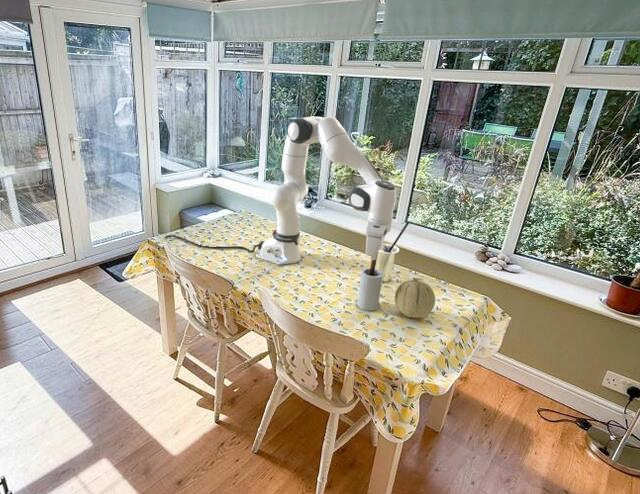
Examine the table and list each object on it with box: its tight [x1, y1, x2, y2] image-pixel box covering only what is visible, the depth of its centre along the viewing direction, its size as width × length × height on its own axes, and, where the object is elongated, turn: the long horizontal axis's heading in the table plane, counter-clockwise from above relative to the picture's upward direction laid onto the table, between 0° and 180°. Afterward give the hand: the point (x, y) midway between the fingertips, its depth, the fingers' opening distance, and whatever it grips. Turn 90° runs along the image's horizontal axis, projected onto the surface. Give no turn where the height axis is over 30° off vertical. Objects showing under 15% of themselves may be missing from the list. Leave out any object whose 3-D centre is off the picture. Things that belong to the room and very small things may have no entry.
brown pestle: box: [369, 256, 377, 276], centre depth 161 cm, size 4×4×20 cm
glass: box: [375, 221, 410, 283], centre depth 182 cm, size 11×11×30 cm
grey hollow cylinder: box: [356, 267, 383, 312], centre depth 164 cm, size 8×8×15 cm
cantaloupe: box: [394, 277, 436, 319], centre depth 158 cm, size 15×15×15 cm
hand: (374, 257), depth 159 cm, fingers closed on brown pestle, 2 cm apart
